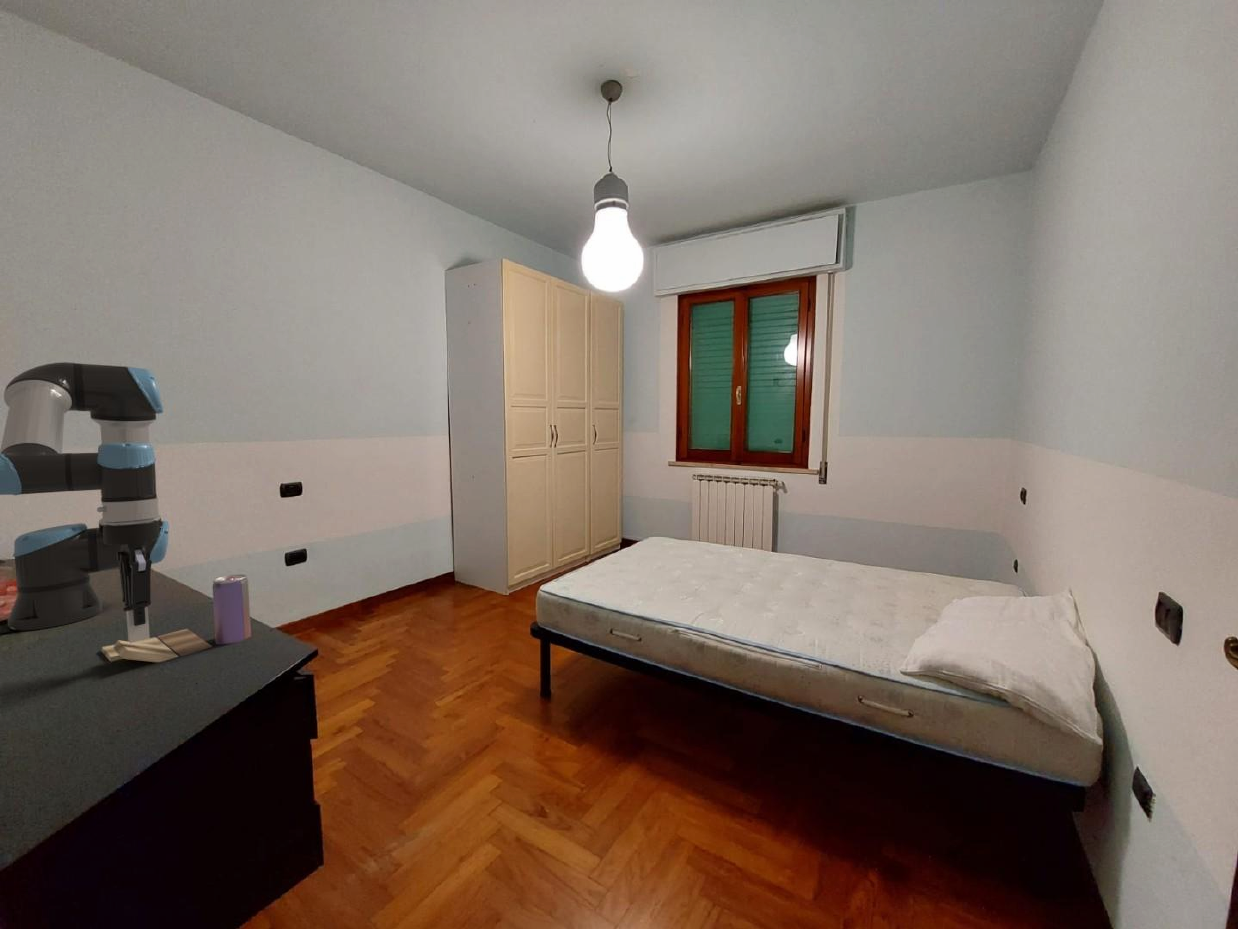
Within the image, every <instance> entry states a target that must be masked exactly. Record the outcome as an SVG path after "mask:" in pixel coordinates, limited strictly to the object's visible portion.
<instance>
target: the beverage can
mask: <svg viewBox="0 0 1238 929" xmlns="http://www.w3.org/2000/svg"><path fill="white" fill-rule="evenodd" d="M249 594H250V591H249V580H248V575H246V574H238V573H237V574H229V575H225V576H221V577H218V578H217V577H216V578H215V579H214V580H213V584H212V599H213V600H212V601H213V602H212V603H213V616H214V617H213V618H214V620H213V621H214V622H213V623H214V634H215V636H214V637H215V644H217V645H228V644H234V643H238V642H239V643H240V642H242V641H245V640H246V639H248V638H250V637H251V636H252V634H251V633H252V632H251V614H250V613H251V612H250V610H251V609H250V595H249Z"/></svg>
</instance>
